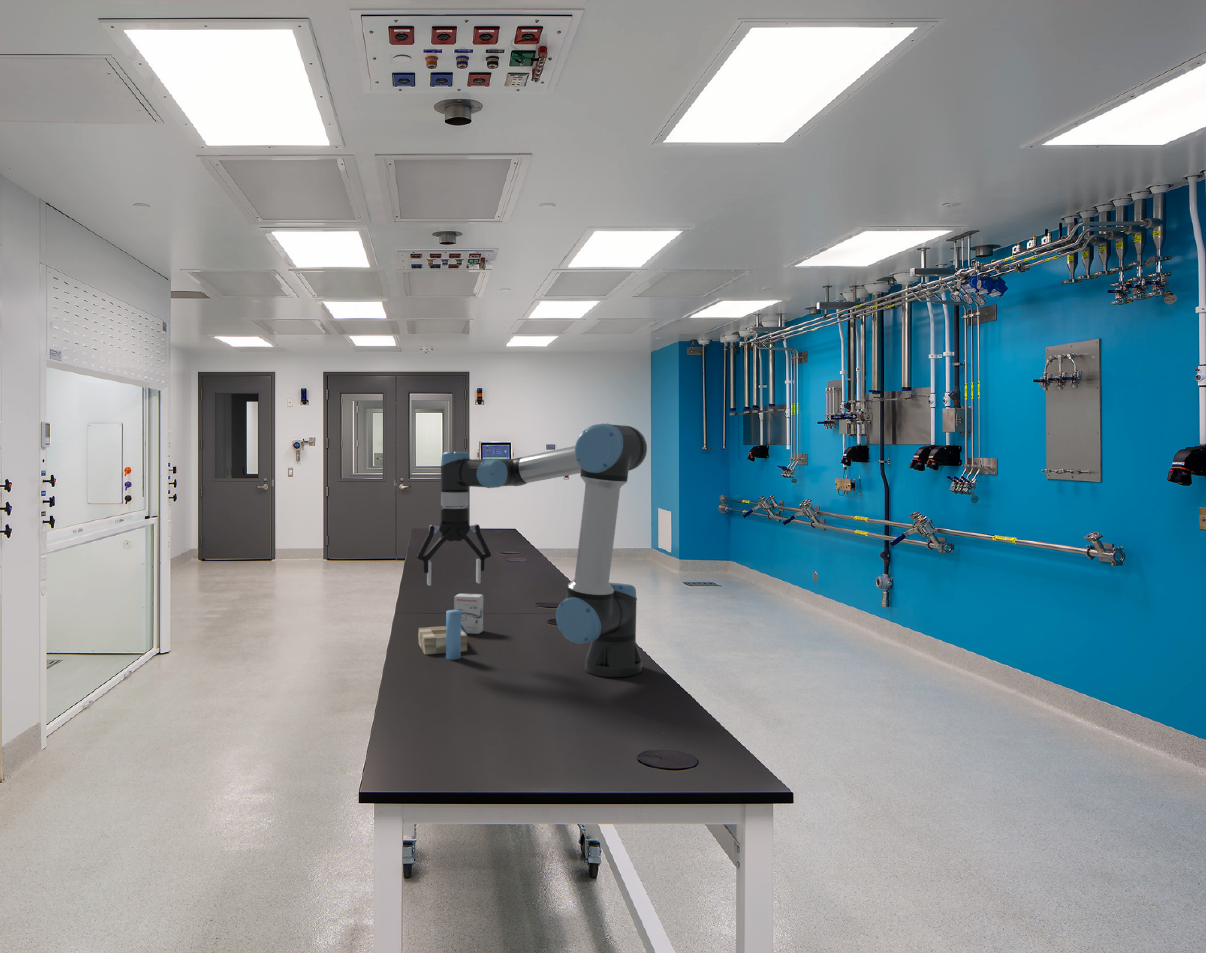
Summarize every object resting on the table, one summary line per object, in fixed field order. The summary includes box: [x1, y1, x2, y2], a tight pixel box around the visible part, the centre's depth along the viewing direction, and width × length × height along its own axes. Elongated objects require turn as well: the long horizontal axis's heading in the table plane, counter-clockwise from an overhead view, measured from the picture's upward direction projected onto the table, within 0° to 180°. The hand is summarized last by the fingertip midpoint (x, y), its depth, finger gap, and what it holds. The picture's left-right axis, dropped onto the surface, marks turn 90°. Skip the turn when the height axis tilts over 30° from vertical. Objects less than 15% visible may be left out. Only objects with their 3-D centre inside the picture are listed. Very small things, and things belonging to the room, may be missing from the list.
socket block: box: [417, 625, 468, 655], centre depth 227 cm, size 14×12×4 cm
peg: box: [445, 609, 462, 661], centre depth 215 cm, size 4×4×13 cm
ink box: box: [453, 593, 484, 635], centre depth 247 cm, size 9×5×12 cm, turn 84°
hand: (453, 583), depth 215 cm, fingers open, 13 cm apart
